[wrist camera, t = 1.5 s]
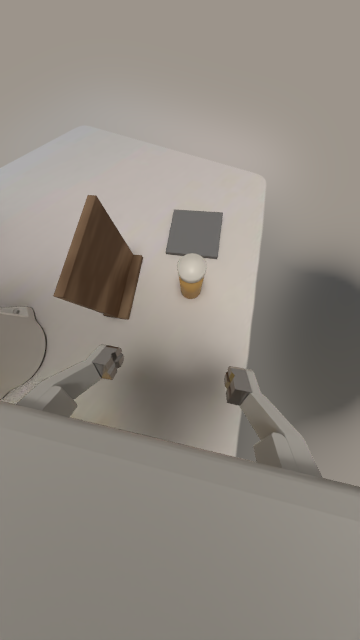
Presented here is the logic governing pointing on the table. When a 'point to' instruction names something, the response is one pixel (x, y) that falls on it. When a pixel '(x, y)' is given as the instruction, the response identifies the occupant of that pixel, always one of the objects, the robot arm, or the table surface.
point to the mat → (195, 233)
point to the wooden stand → (99, 265)
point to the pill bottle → (191, 274)
